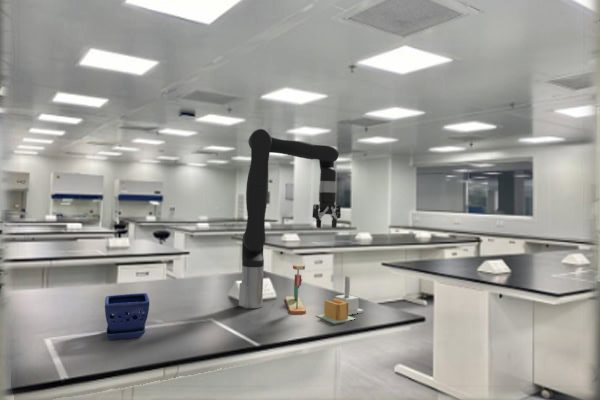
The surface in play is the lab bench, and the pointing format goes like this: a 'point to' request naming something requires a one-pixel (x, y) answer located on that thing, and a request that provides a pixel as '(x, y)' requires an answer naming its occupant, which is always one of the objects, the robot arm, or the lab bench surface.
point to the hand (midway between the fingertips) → (326, 227)
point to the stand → (350, 299)
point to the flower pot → (126, 315)
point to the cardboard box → (336, 309)
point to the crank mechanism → (296, 294)
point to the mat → (334, 320)
